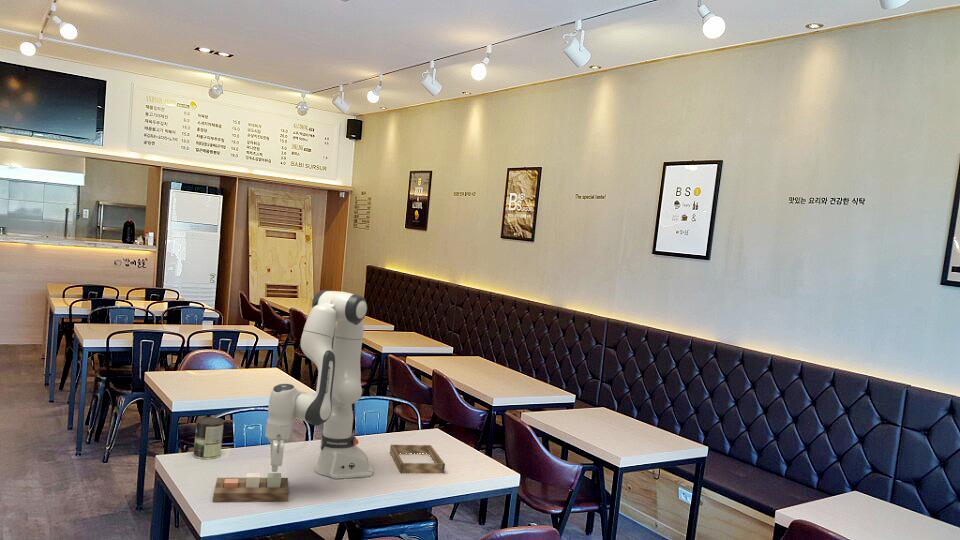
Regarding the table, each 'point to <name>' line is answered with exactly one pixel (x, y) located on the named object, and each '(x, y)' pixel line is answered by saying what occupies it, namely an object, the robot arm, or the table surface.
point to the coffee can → (208, 438)
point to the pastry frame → (417, 467)
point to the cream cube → (252, 480)
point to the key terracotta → (231, 483)
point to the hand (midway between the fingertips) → (274, 470)
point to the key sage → (274, 480)
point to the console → (250, 492)
